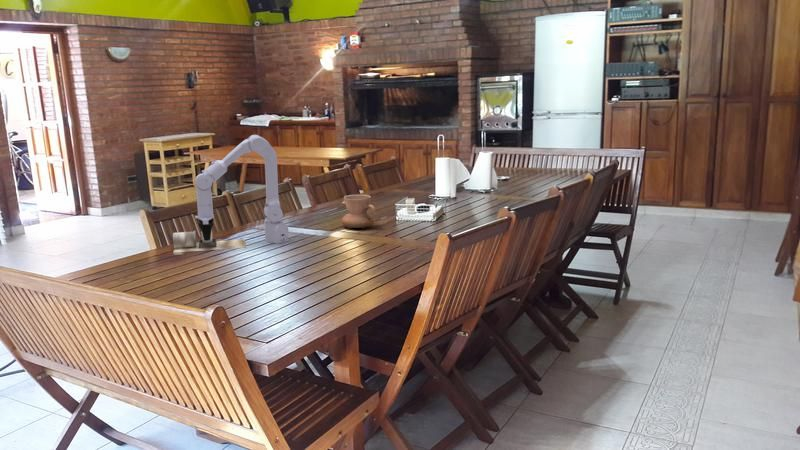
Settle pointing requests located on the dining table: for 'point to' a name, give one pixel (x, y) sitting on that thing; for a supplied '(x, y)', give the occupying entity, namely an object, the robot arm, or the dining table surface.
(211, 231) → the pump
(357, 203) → the ceramic jug
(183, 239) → the motor mount
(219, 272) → the dining table surface
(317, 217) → the dining table surface
